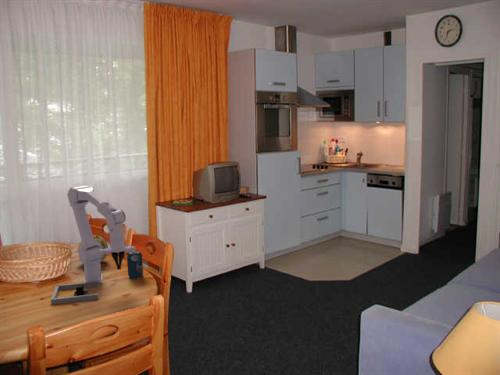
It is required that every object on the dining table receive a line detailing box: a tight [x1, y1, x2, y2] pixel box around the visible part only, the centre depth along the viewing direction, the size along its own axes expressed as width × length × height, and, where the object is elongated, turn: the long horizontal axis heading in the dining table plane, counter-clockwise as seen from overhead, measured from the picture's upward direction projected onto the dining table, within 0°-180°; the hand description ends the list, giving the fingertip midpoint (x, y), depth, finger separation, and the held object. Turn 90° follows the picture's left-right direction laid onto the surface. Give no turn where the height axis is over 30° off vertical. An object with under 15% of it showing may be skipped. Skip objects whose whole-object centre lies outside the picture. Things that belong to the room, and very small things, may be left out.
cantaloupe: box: [77, 234, 109, 263], centre depth 249 cm, size 15×15×15 cm
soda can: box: [126, 249, 144, 280], centre depth 228 cm, size 7×7×12 cm
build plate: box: [73, 284, 89, 296], centre depth 207 cm, size 12×7×5 cm, turn 14°
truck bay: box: [50, 281, 101, 305], centre depth 208 cm, size 17×18×2 cm
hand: (119, 268), depth 211 cm, fingers closed
